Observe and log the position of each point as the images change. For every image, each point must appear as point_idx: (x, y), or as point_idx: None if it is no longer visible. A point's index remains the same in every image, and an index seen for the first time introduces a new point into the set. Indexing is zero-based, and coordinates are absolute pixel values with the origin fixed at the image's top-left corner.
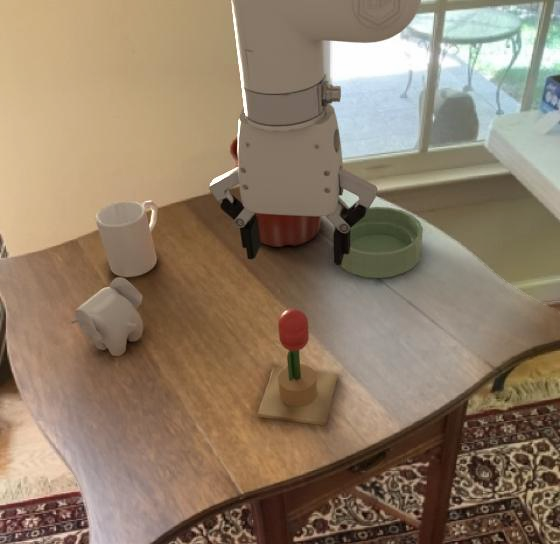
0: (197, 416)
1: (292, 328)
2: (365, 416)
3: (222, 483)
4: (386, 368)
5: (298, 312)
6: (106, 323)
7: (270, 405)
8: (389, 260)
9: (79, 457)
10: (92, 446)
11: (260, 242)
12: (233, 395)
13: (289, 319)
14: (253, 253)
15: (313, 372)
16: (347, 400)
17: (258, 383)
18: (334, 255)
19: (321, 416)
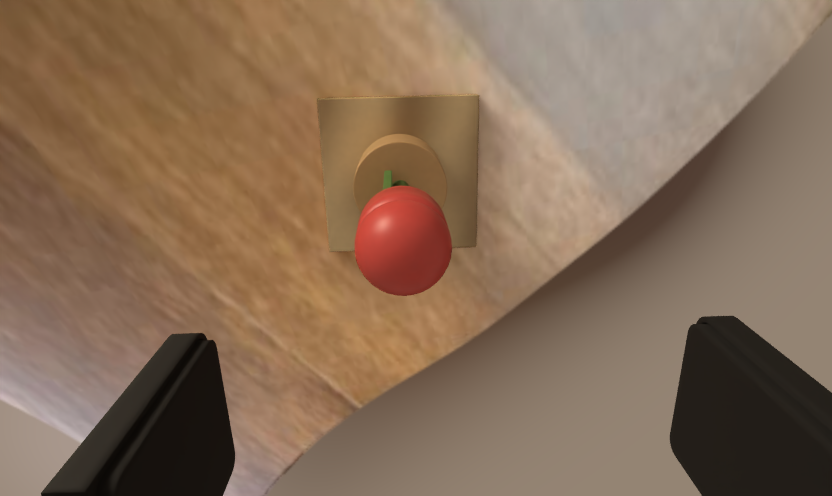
0: (204, 271)
1: (413, 294)
2: (551, 202)
3: (321, 398)
4: (591, 39)
5: (424, 257)
6: None
7: (349, 224)
8: None
9: (37, 403)
10: (42, 378)
11: (209, 345)
12: (254, 199)
13: (400, 287)
14: (224, 490)
15: (436, 166)
16: (509, 165)
17: (296, 151)
18: (701, 490)
19: (464, 233)
